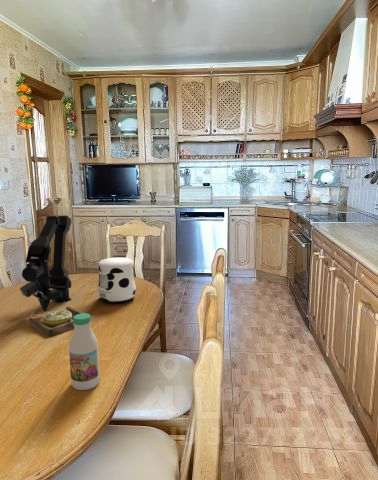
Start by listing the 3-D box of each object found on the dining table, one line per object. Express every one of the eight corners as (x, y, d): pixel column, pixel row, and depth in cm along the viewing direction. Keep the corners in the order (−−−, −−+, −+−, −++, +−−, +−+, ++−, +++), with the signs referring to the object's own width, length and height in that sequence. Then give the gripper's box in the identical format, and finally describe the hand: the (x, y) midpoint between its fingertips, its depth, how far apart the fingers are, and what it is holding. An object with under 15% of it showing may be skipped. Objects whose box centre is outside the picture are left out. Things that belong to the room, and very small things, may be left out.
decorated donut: (77, 320, 145) (77, 311, 145) (54, 329, 137) (53, 320, 136) (61, 314, 151) (60, 306, 150) (38, 323, 142) (37, 314, 142)
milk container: (138, 292, 178) (136, 256, 175) (133, 305, 161) (132, 265, 158) (102, 293, 177) (100, 257, 174) (94, 305, 160) (92, 266, 157)
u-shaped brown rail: (68, 311, 154) (68, 306, 153) (90, 321, 143) (90, 315, 143) (29, 324, 141) (28, 318, 140) (50, 336, 131) (49, 330, 130)
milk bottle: (74, 376, 105) (70, 311, 102) (101, 374, 106) (98, 310, 102) (68, 392, 98) (63, 322, 94) (97, 390, 98) (93, 321, 95)
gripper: (10, 274, 146) (14, 310, 149) (33, 283, 134) (37, 322, 137) (37, 268, 155) (40, 303, 158) (61, 276, 143) (63, 314, 146)
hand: (44, 310), depth 149 cm, fingers closed
